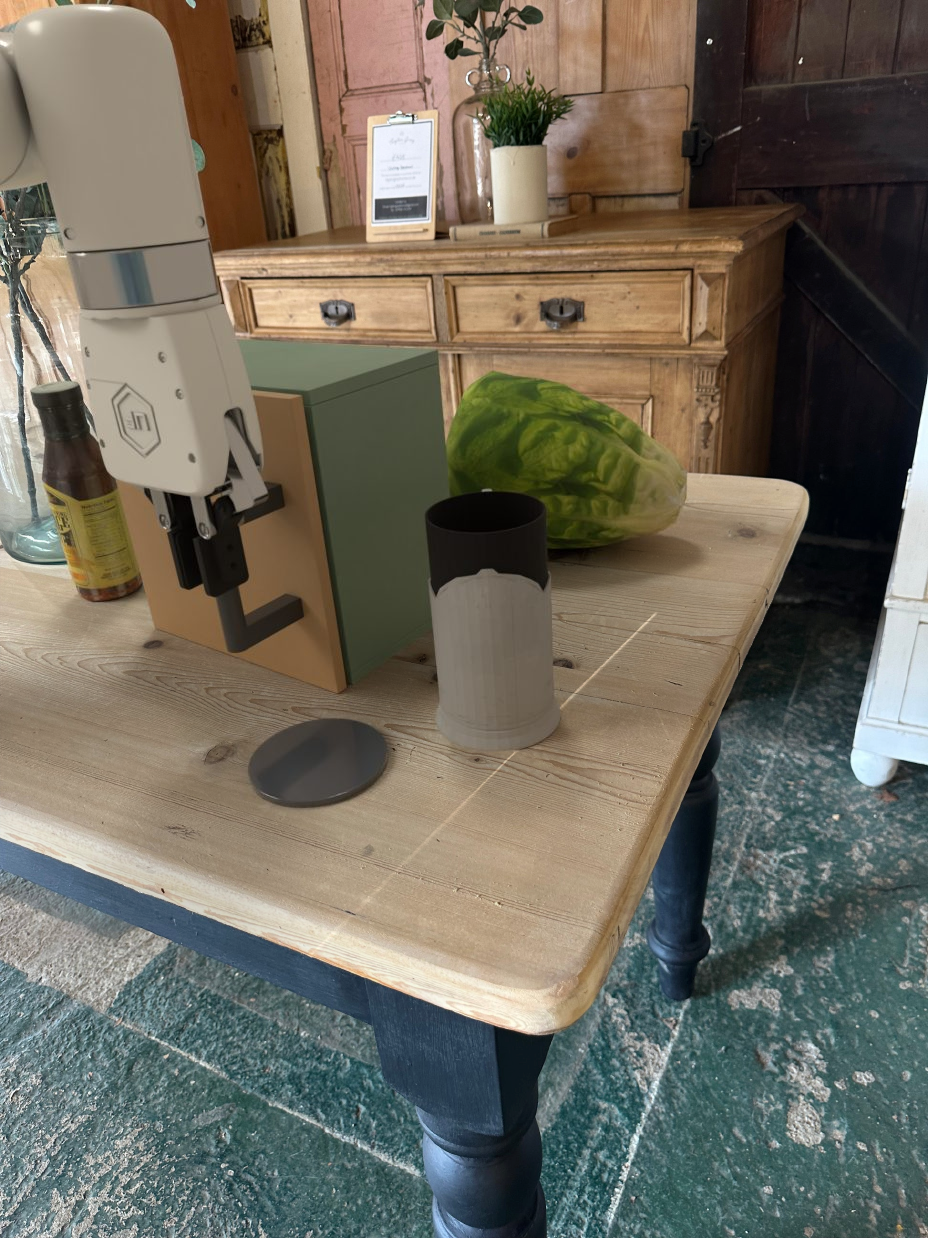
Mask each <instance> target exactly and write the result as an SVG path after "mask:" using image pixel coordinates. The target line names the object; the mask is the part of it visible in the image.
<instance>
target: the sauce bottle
mask: <svg viewBox="0 0 928 1238" xmlns="http://www.w3.org/2000/svg"><path fill="white" fill-rule="evenodd" d="M29 392H30V397H31V400H32V404H33V406H34V407H35V408H36V410H37V413H38V417H39V420H40V423H41V427H42V430H43V431H42V432H43V434H42V435H43V437H44V450H43V460H42V472H41V481H42V485H43V488H44V492H45V494H46V498H47V501H48V504H49V508H50V511H51V514H52V517H53V522H54V524H55V528H56V530H57V535H58V537H59V540H60V544H61V548H62V551H63V553H64V557H65V560H66V563H67V566H68V570H69V572H70V573H69V574H70V577H71V580H72V582H73V584H74V585H75V588H76V590H77V593H78V595H79V596H80V597H82V598H83V599H86V600H87V601H89V602H93V603H94V602H95V603H96V602H103V601H105V602H106V601H111V600H115V599H119V598H122V597H125V596H129V595H131V594H133V593H135V592H136V591H137V590H138V589H139V588H140V586H141V584H142V583H143V581H142V578H141V574H140V570H139V566H138V562H137V559H136V555H135V551H134V547H133V543H132V540H131V536H130V532H129V528H128V525H127V521H126V517H125V513H124V509H123V506H122V502H121V498H120V494H119V490H118V487H117V483H116V479H115V478H114V477H113V476H112V475H110V474H109V472H108V471H107V469H106V467H105V464H104V461H103V457H102V454H101V450H100V446H99V442H98V439H96V438H95V436H94V435H93V434H91V425H90V423H88V418H87V414H86V411H85V407H84V395H83V391H82V387H81V384H80V383H79V382H78V381H73V380H60V381H52V382H47V383H41V384H39V385H37V386H35V387H32V388H31V389H30V390H29Z"/></svg>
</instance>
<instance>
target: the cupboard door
mask: <svg viewBox="0 0 928 1238" xmlns="http://www.w3.org/2000/svg"><path fill="white" fill-rule="evenodd" d="M252 394H253V398H254V402H255V406H256V411H257V416H258V421H259V426H260V431H261V437H262V445H263V454H264V465H263V469H262V471H261V473H260V475H261V478H262V480H263V482H264V484H265V486H266V489H267V491H268V495H269V497H268V500H267V501H265V502H262V503H260V504H258V505H255V506H253V507H251V508H248V509H247V511H246V512H245V514H244V519H245V520H244V523H243V524H242V525H240V526H239V529H240V533H241V538H242V543H243V548H244V553H245V558H246V563H247V568H248V572H249V579H248V581H247V582H245V583H243V584H241V585H239V586H237V587H236V588H234V589H232V590H230V591H228V592H226V593H224V594H222V595H220V596H218V597H211V596H208V595H207V594H206V593H205V590H204V585H203V584H201V585H199V586H197V587H195V588H193V589H191V590H186V589H183V588H181V587H180V585H179V580H178V576H177V572H176V568H175V564H174V560H173V556H172V552H171V548H170V544H169V540H168V536H167V532H169V531H171V529H169V530H164V529H163V528H162V527H161V526H160V524H159V522H158V519H157V515H156V511H155V508H154V505H153V504H152V503H151V502H150V500H149V499H148V498H147V497H146V495H145V493H143V492H142V491H140V490H139V489H137V488H136V487H135V486H133V485H131V484H127V483H124V482H121V481H119V480H117V479H116V478H115V479H116V483H117V487H118V490H119V494H120V498H121V502H122V506H123V509H124V513H125V517H126V521H127V525H128V528H129V532H130V536H131V540H132V543H133V547H134V551H135V555H136V559H137V562H138V566H139V570H140V574H141V578H142V585H143V589H144V592H145V598H146V600H147V604H148V609H149V611H150V615H151V616H150V617H151V619H152V623H153V626H154V629H156V630H159V631H162V632H165V633H168V634H170V635H172V636H173V635H174V636H176V637H179V638H182V639H185V640H187V641H190V642H193V643H195V644H198V645H201V646H203V647H206V648H209V649H212V650H215V651H217V652H221V653H223V654H226V655H229V656H232V657H234V658H237V659H240V660H243V661H245V662H248V663H251V664H254V665H256V666H259V667H262V668H265V669H268V670H271V671H273V672H276V673H279V674H281V675H283V676H284V675H285V676H287V677H290V678H292V679H296V680H297V681H302V682H304V683H307V684H309V685H312V686H315V687H318V688H321V689H324V690H327V691H330V692H332V693H335V694H340V693H341V692H344V690H346V689H348V686H347V682H346V679H345V672H344V666H343V659H342V653H341V646H340V640H339V633H338V627H337V620H336V614H335V607H334V601H333V594H332V588H331V581H330V575H329V569H328V562H327V556H326V549H325V543H324V536H323V530H322V523H321V517H320V510H319V504H318V497H317V491H316V484H315V478H314V471H313V465H312V458H311V452H310V445H309V439H308V432H307V426H306V419H305V413H304V406H303V400H302V395H294V394H284V393H275V392H265V391H256V390H252ZM219 497H221V494H220V493H219V494H217V495H214V496H212V497H210V498H211V503H212V506H213V504H214V502H215V501H216V499H217V498H219Z"/></svg>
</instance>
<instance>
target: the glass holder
mask: <svg viewBox="0 0 928 1238" xmlns="http://www.w3.org/2000/svg"><path fill="white" fill-rule="evenodd" d="M425 523H426V533H427V544H428V554H429V565H430V575H431V578H429V579H428V583H429V594H430V604H431V614H432V625H433V628H432V633H433V644H434V653H435V654H434V655H435V656H434V657H435V663H436V665H435V666H436V675H437V686H438V687H437V688H438V695H439V701H438V706H437V708H436V710H435V715H434V723H435V725H436V728H437V730H438V731H439V732H440V734H441V735H442V736H443V737H444V738H445V739H447V740H448V741H450V742H452V743H454V744H455V745H458V746H461V747H463V748H467V749H470V750H474V751H475V750H476V751H482V752H505V751H512V750H515V751H518V750H523V749H525V748H528V747H532V746H533V745H536V744H538V743H541V742H542V741H544V740H545V739H548V737H550V736H551V735H552V734H553V733H554V732H555V731H556V729H557V728H558V727H559V724H560V722H561V719H562V711H561V706H560V704H559V702H558V700H557V699H556V696H555V689H554V688H555V686H554V651H553V650H554V649H553V647H554V644H553V614H552V613H553V611H552V609H553V608H552V572H551V571H549V564H548V561H549V560H548V548H547V523H546V506H545V504H544V503H543V502H542V501H541V500H539V499H537V498H535V497H533V496H530V495H526V494H522V493H516V492H507V491H492V489H483V490H482V492H474V493H467V494H462V495H457V496H453V497H450V498H447V499H444V500H441V501H439V502H437V503H435V504H434V505H432V506H431V507H429V509H428V510H427V511H426V513H425Z"/></svg>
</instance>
